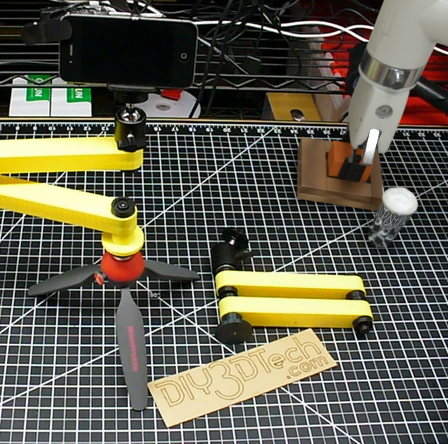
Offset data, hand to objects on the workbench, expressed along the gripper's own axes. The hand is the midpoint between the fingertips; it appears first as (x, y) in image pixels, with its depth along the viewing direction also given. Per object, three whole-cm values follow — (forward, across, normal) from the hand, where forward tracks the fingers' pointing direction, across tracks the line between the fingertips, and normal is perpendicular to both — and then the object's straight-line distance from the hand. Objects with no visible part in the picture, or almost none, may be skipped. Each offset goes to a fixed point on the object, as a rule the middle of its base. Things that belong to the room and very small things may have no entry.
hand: (347, 166), depth 88 cm
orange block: (0, 0, 0) cm, 0 cm away
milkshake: (+3, -11, -4) cm, 12 cm away
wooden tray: (+3, 0, +1) cm, 3 cm away
